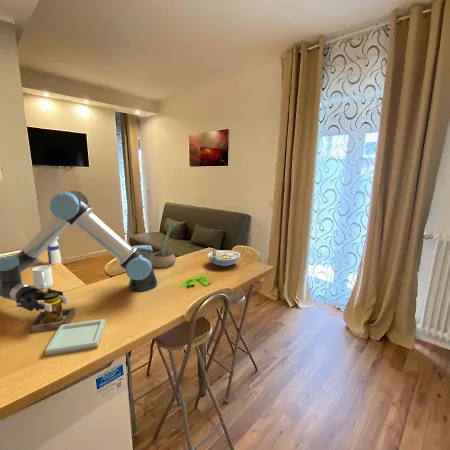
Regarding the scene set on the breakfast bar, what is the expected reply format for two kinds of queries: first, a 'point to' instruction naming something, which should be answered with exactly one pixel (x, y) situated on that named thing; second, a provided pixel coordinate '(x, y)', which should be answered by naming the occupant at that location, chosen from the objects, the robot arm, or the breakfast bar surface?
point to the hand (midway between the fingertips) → (59, 304)
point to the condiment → (53, 309)
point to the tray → (76, 337)
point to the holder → (50, 326)
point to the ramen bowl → (223, 257)
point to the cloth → (195, 280)
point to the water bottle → (54, 252)
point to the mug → (42, 277)
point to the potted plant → (164, 252)
